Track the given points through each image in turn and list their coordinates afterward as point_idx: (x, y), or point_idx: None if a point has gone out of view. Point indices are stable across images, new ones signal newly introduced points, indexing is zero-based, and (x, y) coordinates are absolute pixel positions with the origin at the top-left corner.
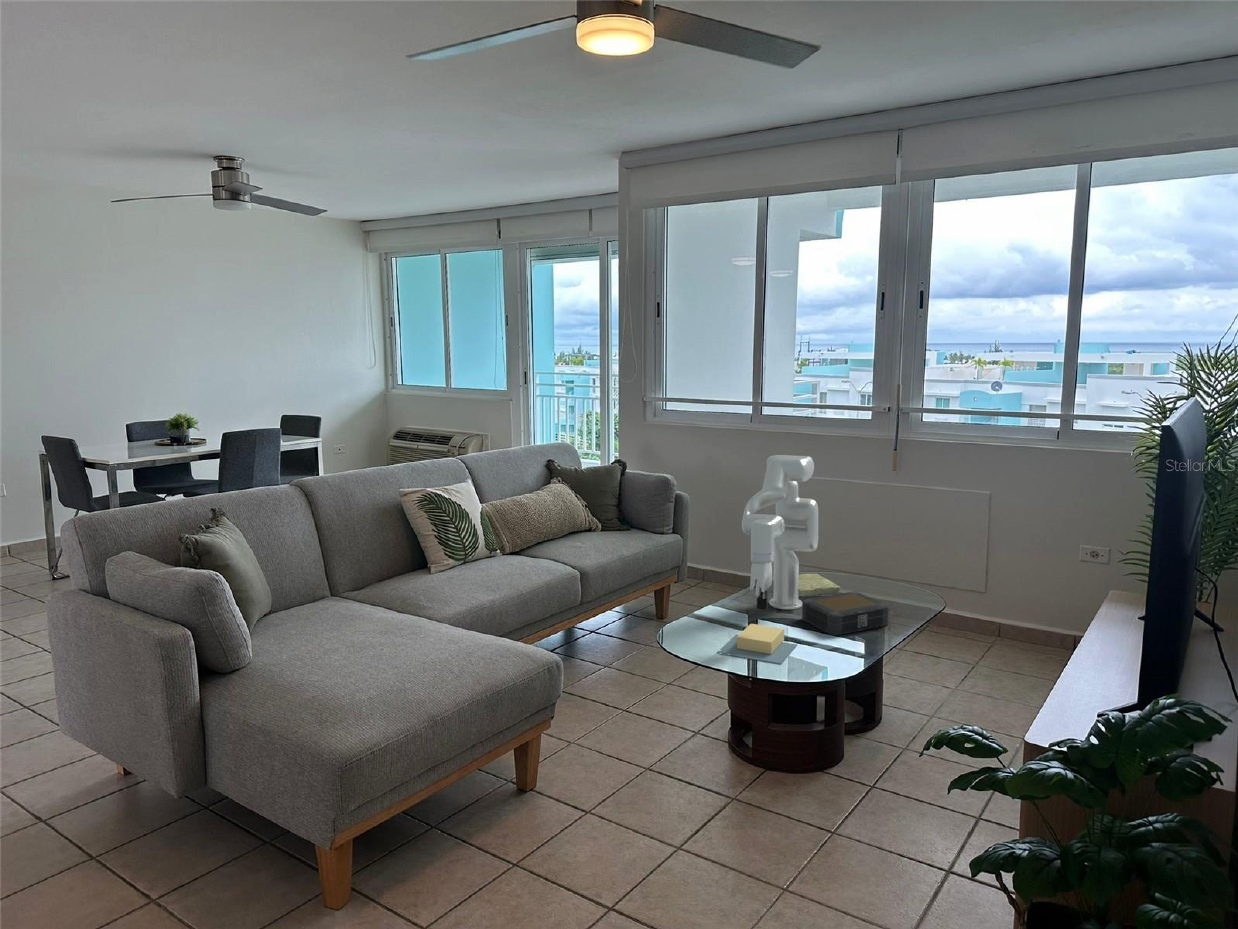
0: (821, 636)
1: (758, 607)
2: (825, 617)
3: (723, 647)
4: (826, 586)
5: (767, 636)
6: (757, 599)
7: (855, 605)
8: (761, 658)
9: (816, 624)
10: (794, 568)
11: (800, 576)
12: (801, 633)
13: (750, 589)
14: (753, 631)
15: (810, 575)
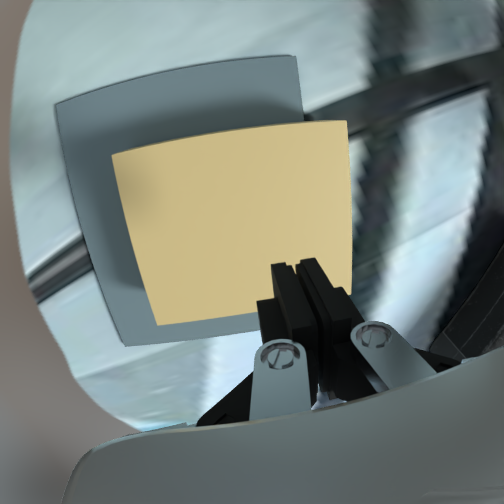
0: (416, 331)
1: (274, 281)
2: (472, 348)
3: (112, 91)
4: None
5: (212, 282)
6: (286, 321)
7: None
8: (111, 281)
9: (479, 291)
10: None
11: None
12: (425, 276)
13: (80, 459)
14: (238, 188)
15: None
